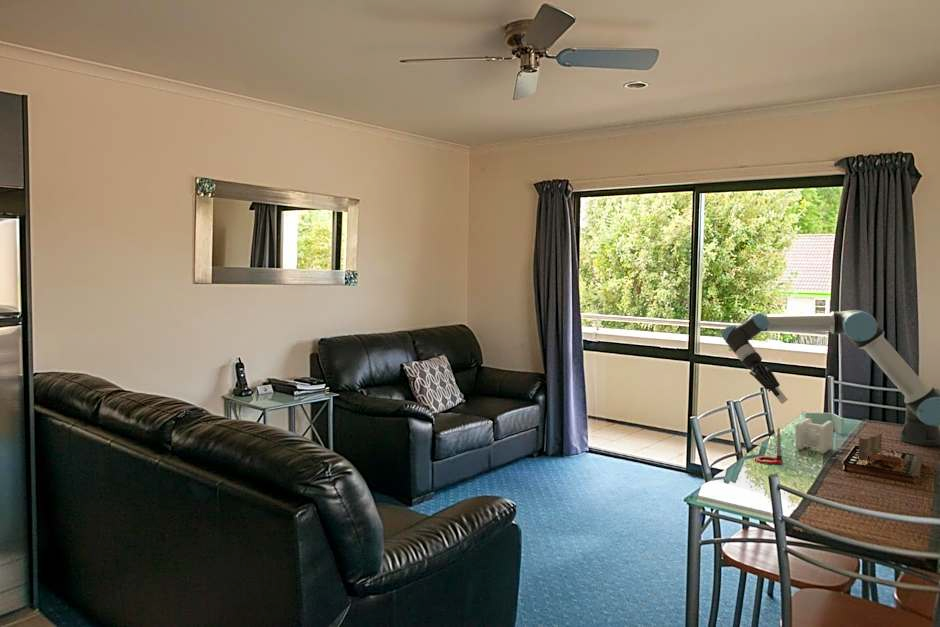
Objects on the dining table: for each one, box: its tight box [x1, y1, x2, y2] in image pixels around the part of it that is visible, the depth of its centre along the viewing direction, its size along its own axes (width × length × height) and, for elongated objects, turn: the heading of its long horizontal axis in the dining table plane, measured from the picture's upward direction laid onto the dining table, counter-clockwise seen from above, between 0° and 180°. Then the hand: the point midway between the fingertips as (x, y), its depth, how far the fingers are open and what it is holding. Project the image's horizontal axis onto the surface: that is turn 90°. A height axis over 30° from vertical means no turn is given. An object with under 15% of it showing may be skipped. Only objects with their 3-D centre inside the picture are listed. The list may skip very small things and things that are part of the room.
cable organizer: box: [794, 417, 834, 455], centre depth 272 cm, size 15×11×12 cm
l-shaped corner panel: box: [804, 411, 845, 435], centre depth 305 cm, size 12×12×8 cm
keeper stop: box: [858, 432, 883, 460], centre depth 260 cm, size 14×13×10 cm
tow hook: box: [754, 427, 783, 465], centre depth 256 cm, size 8×13×9 cm
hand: (784, 401), depth 281 cm, fingers closed
